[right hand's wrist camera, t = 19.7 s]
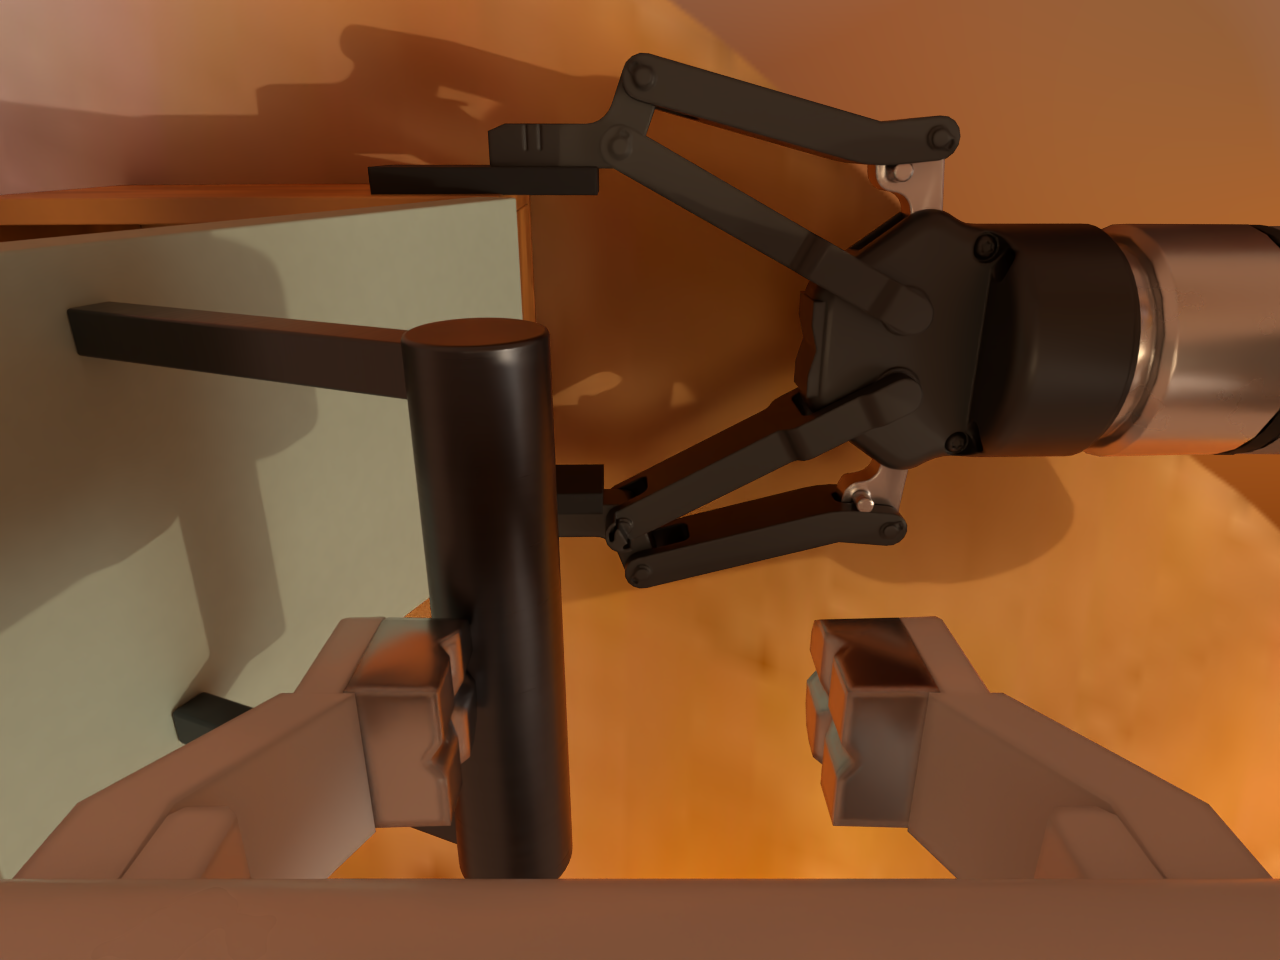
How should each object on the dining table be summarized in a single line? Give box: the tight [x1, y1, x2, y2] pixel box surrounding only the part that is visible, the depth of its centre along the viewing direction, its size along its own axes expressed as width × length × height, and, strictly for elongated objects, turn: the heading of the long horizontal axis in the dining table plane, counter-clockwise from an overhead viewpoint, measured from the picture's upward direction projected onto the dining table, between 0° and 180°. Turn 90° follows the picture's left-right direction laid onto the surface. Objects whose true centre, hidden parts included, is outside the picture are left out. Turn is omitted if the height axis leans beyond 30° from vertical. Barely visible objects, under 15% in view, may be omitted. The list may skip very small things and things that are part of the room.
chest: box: [0, 184, 536, 323], centre depth 29 cm, size 15×9×9 cm, turn 90°
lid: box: [0, 197, 572, 879], centre depth 16 cm, size 16×9×9 cm
